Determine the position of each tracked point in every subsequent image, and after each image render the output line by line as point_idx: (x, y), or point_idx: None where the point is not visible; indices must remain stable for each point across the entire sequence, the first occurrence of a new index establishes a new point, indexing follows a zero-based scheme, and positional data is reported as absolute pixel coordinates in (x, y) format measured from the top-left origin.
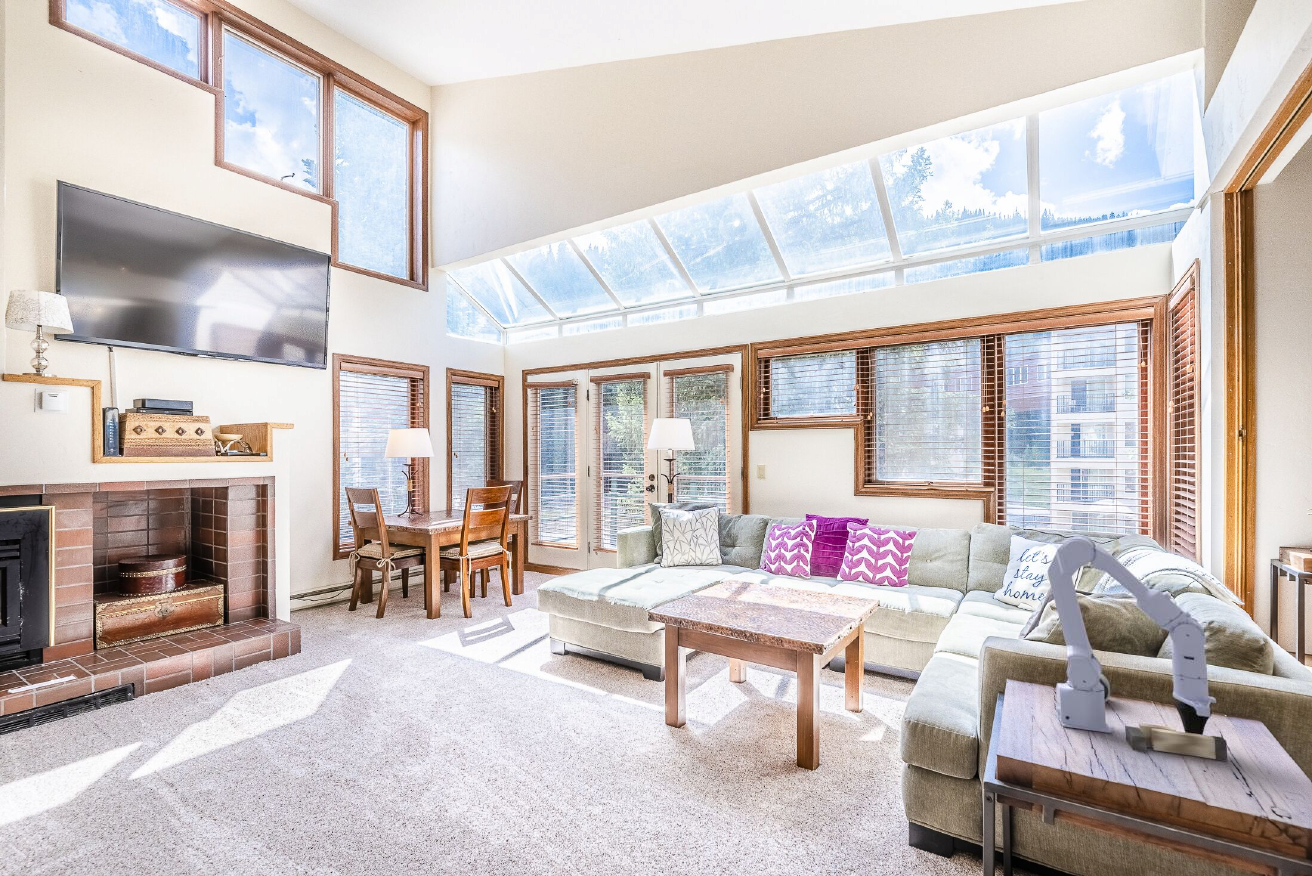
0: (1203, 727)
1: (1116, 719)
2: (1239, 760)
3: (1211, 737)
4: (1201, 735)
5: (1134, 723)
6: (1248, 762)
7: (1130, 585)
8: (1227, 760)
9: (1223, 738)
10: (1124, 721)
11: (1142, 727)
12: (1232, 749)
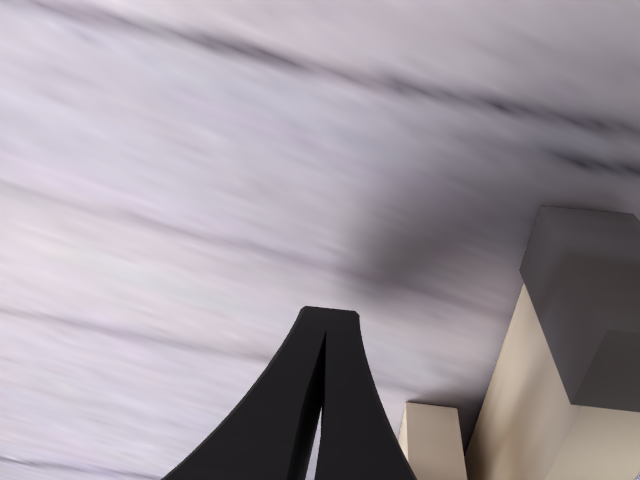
0: (385, 415)
1: (50, 476)
2: (553, 83)
3: (627, 421)
4: (576, 467)
5: (56, 432)
6: (595, 15)
7: None
8: (635, 218)
9: None
10: (57, 458)
11: None
12: (257, 20)
